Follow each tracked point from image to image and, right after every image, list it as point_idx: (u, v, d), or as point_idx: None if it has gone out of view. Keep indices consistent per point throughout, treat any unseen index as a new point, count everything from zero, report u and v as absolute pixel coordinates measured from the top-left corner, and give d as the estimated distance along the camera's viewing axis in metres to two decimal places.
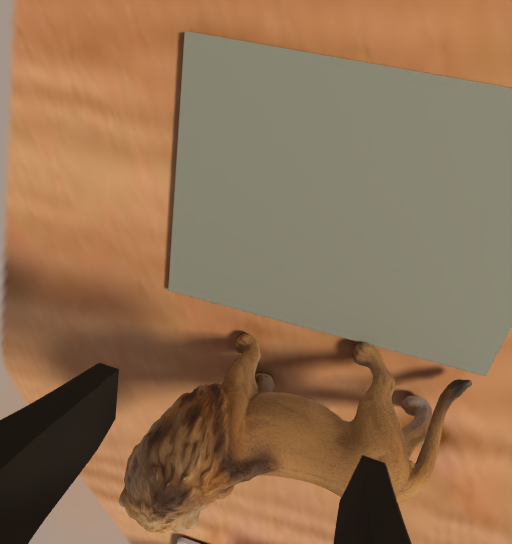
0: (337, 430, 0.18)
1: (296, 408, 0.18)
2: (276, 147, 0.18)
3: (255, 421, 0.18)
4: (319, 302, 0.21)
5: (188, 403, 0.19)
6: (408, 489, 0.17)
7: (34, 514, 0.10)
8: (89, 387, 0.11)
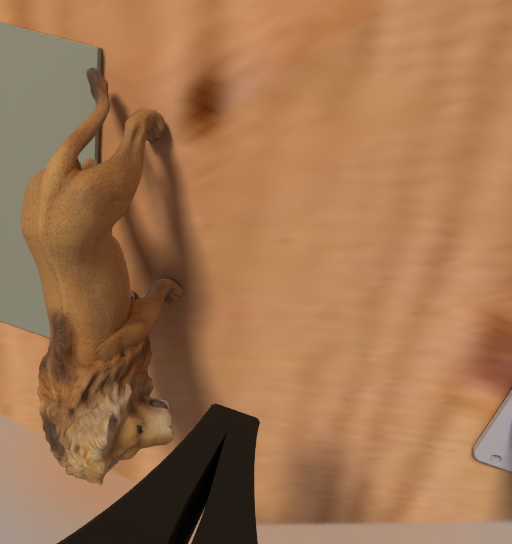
0: None
1: None
2: None
3: None
4: None
5: None
6: (43, 175, 0.14)
7: None
8: (217, 433, 0.11)
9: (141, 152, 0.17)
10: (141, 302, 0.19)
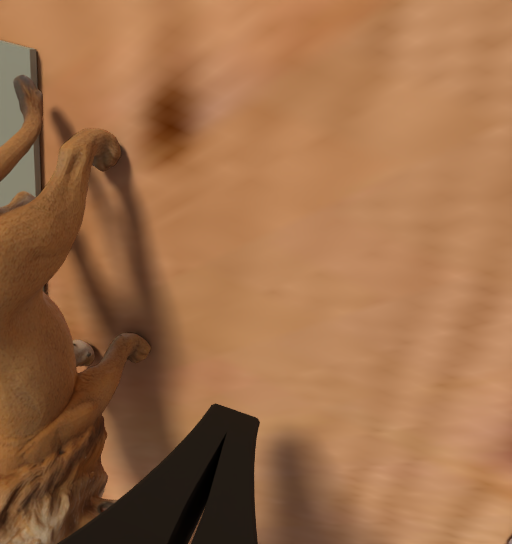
0: None
1: None
2: None
3: None
4: None
5: None
6: None
7: None
8: (217, 433, 0.11)
9: (83, 188, 0.13)
10: (91, 373, 0.15)
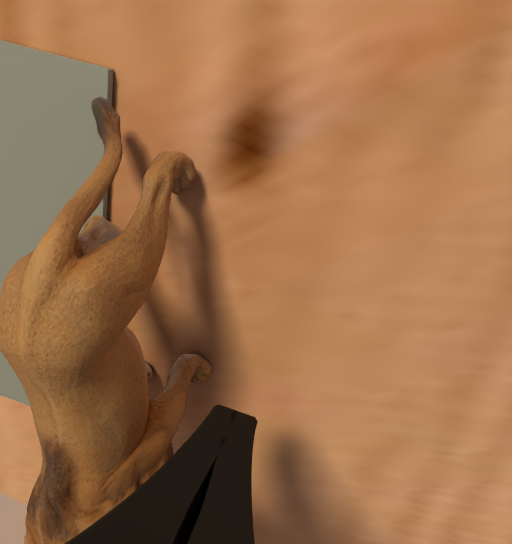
0: None
1: None
2: None
3: None
4: None
5: None
6: (26, 270, 0.09)
7: None
8: (220, 434, 0.11)
9: (166, 216, 0.12)
10: (162, 400, 0.15)
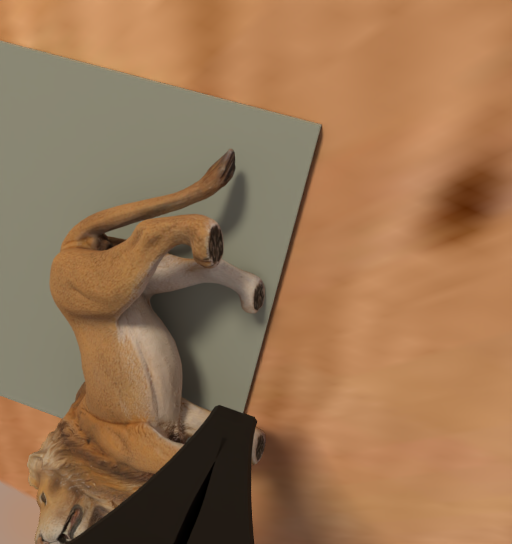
0: None
1: None
2: (61, 349, 0.19)
3: None
4: (219, 337, 0.16)
5: None
6: None
7: None
8: (221, 434, 0.11)
9: (135, 264, 0.12)
10: (147, 433, 0.15)
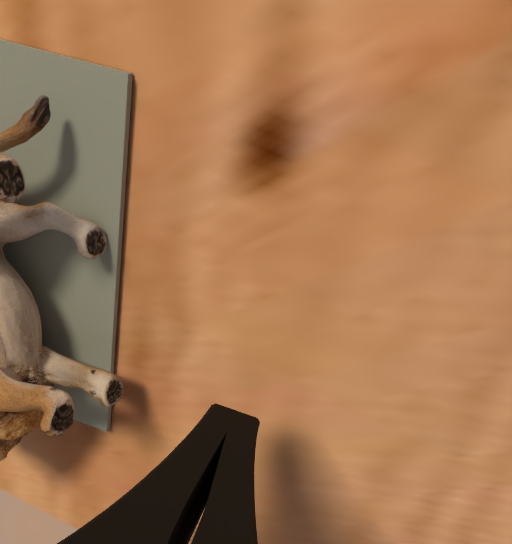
0: None
1: None
2: None
3: None
4: (78, 287, 0.17)
5: None
6: None
7: None
8: (217, 433, 0.11)
9: None
10: None
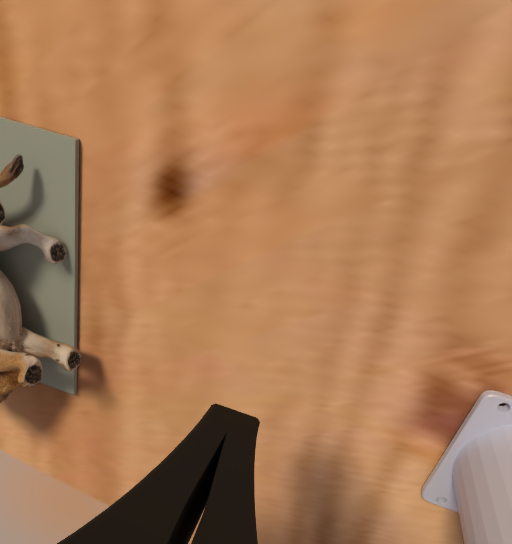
0: None
1: None
2: None
3: None
4: (48, 284, 0.24)
5: None
6: None
7: None
8: (217, 433, 0.11)
9: None
10: None
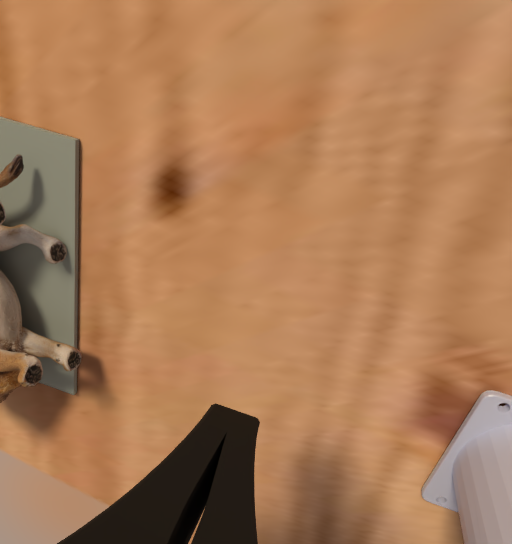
0: None
1: None
2: None
3: None
4: (48, 284, 0.24)
5: None
6: None
7: None
8: (217, 433, 0.11)
9: None
10: None
